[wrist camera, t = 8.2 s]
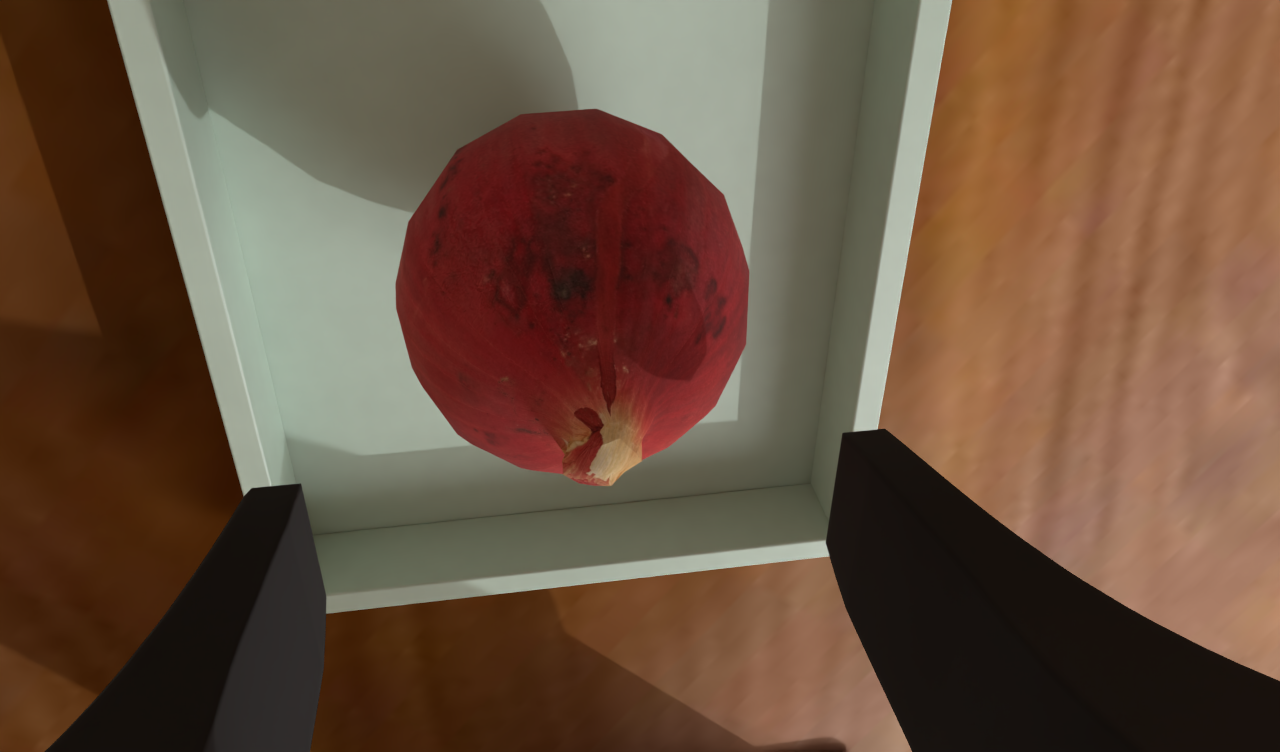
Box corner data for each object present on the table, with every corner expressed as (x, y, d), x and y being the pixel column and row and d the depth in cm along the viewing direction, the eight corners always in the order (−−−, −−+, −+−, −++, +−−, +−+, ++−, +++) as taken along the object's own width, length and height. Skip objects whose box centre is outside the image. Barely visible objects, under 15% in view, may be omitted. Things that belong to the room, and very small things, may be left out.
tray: (823, 482, 27) (856, 554, 25) (289, 538, 25) (276, 620, 23) (937, -328, 17) (1009, -325, 15) (72, -335, 15) (14, -332, 13)
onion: (375, 65, 18) (347, 292, 12) (696, 35, 19) (834, 234, 13) (428, 341, 22) (427, 636, 15) (699, 308, 22) (809, 576, 16)
